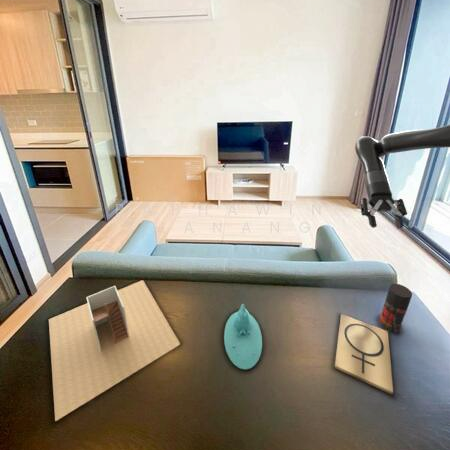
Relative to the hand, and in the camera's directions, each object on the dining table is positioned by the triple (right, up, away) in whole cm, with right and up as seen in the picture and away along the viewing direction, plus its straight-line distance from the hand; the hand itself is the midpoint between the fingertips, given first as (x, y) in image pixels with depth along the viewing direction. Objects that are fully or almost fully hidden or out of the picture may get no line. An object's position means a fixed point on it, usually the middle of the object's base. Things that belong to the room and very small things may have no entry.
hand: (387, 227), depth 84 cm
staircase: (-93, -34, -3) cm, 99 cm away
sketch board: (-13, -36, -9) cm, 39 cm away
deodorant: (0, -33, -1) cm, 33 cm away
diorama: (-50, -35, -5) cm, 61 cm away
